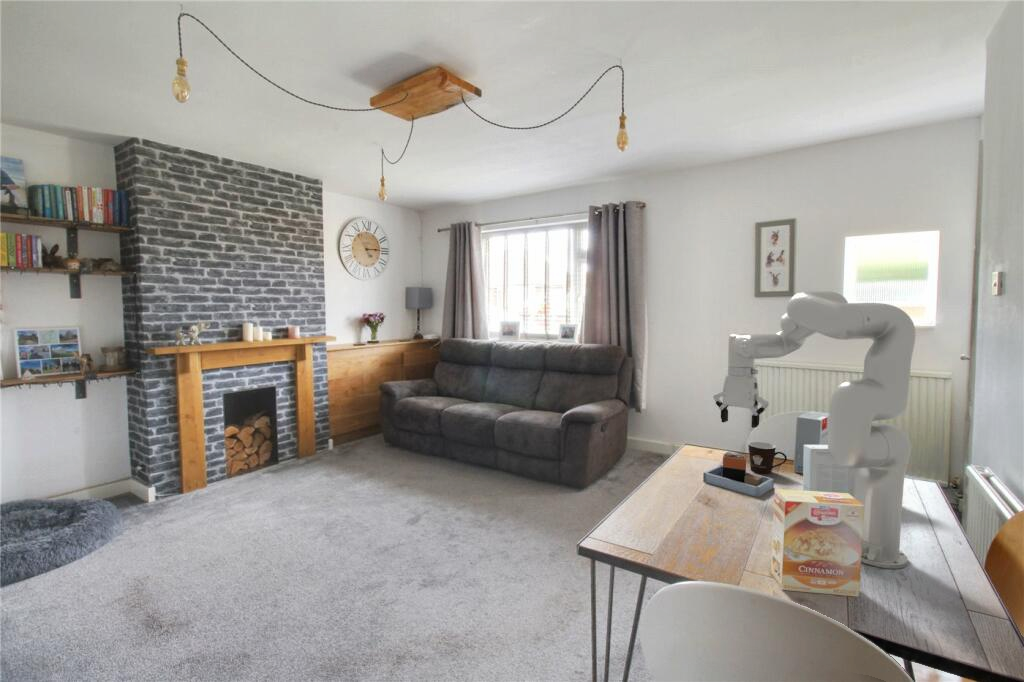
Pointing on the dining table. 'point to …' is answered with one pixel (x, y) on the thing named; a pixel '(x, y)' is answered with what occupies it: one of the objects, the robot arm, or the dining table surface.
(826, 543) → the coffeecake box
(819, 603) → the dining table surface
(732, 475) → the battery
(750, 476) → the walnut block
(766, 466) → the coffee mug
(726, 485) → the bin
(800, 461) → the hard drive box
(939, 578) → the dining table surface
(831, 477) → the skincare box
